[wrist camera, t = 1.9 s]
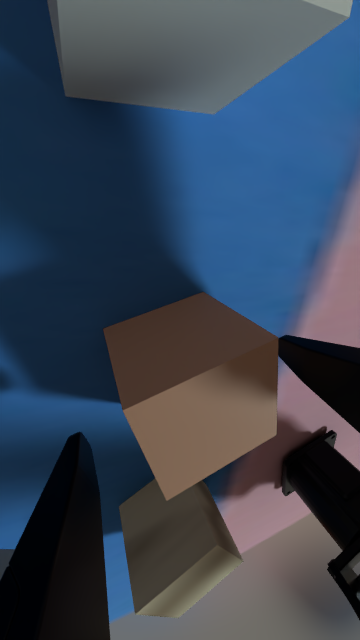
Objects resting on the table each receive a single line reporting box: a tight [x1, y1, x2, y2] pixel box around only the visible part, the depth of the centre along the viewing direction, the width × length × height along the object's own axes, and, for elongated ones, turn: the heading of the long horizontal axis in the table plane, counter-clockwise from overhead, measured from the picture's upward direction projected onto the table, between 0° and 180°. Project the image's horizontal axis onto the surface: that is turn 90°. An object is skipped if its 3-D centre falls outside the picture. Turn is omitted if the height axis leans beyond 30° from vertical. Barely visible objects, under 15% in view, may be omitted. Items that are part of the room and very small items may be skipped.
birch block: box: [119, 478, 243, 618], centre depth 15 cm, size 5×5×5 cm
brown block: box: [103, 292, 278, 501], centre depth 10 cm, size 5×5×5 cm
